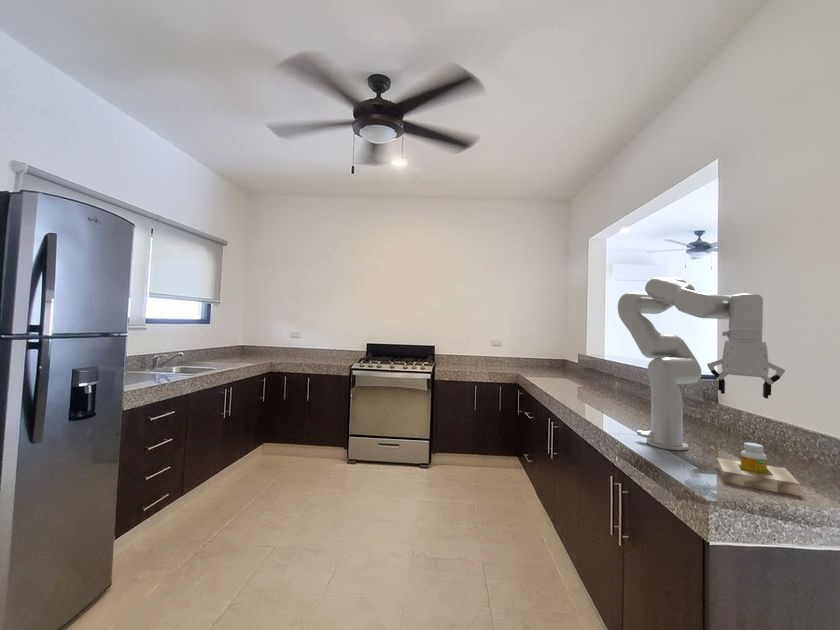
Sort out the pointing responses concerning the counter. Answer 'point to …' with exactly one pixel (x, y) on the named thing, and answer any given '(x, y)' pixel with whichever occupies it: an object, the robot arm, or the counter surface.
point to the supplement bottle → (753, 459)
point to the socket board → (758, 477)
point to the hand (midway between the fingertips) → (743, 395)
